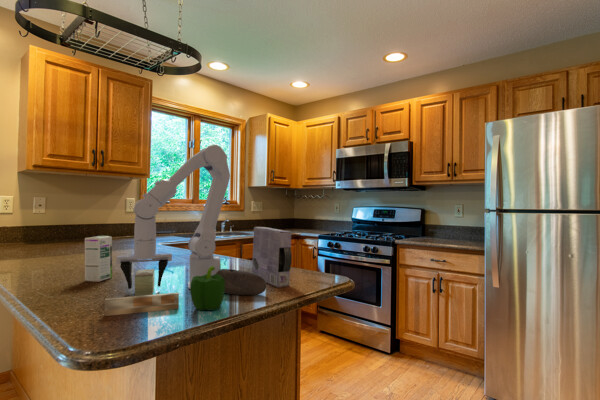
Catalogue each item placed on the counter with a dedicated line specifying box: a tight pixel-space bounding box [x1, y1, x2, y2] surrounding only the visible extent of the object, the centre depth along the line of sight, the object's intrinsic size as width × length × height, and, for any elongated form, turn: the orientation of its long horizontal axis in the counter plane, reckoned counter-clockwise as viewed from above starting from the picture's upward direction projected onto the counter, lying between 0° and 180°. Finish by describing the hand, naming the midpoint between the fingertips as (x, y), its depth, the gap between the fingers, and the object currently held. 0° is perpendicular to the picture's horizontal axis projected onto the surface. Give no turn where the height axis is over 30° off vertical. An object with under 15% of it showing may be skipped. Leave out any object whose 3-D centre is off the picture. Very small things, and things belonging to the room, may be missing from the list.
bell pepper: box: [190, 266, 225, 311], centre depth 83 cm, size 8×8×10 cm
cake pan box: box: [251, 226, 293, 288], centre depth 112 cm, size 19×5×18 cm, turn 34°
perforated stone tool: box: [216, 268, 268, 296], centre depth 96 cm, size 15×5×7 cm, turn 75°
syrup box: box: [84, 235, 113, 283], centre depth 113 cm, size 6×6×14 cm
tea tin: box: [134, 268, 155, 296], centre depth 97 cm, size 8×5×6 cm, turn 20°
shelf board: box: [104, 292, 180, 317], centre depth 85 cm, size 16×11×4 cm
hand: (144, 286), depth 97 cm, fingers open, 7 cm apart
